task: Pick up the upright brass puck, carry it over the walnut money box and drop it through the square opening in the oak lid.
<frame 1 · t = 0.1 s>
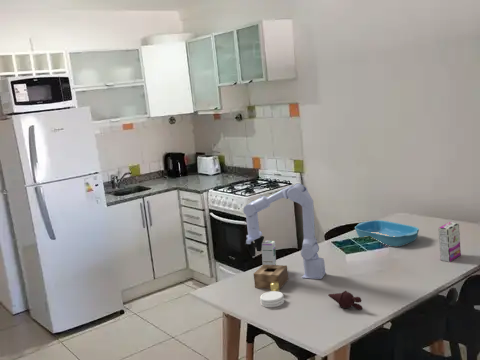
hand: (256, 253, 254), 10 cm above the table, fingers open, 7 cm apart
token: (275, 293, 228), on the table
syrup box: (269, 270, 257), on the table
candy bar box: (450, 258, 246), on the table
casserole dish: (386, 240, 285), on the table
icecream: (345, 307, 207), on the table
coaster: (272, 303, 219), on the table
money box: (271, 283, 241), on the table
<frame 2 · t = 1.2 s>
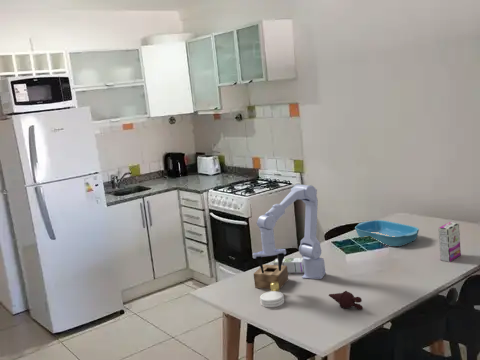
hand: (271, 271, 229), 10 cm above the table, fingers open, 7 cm apart
syrup box: (274, 265, 255), point 3 cm above the table
everything else where it was.
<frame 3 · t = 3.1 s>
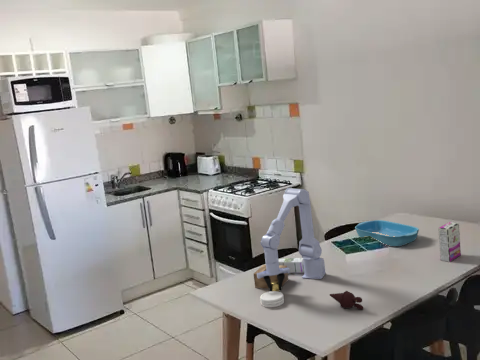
hand: (275, 290, 228), 1 cm above the table, fingers closed on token, 4 cm apart
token: (275, 293, 228), on the table, touching gripper
everything else where it was.
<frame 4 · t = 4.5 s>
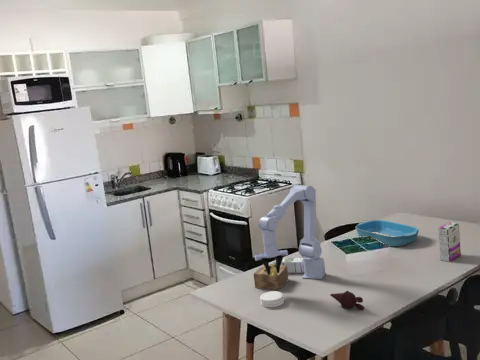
hand: (273, 273, 227), 9 cm above the table, fingers closed on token, 4 cm apart
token: (273, 276, 228), point 8 cm above the table, touching gripper
everything else where it was.
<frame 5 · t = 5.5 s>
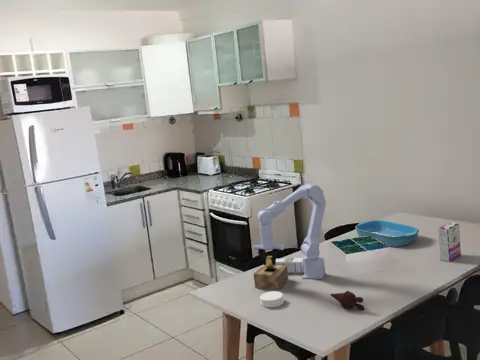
hand: (269, 264, 239), 9 cm above the table, fingers closed on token, 4 cm apart
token: (270, 267, 239), point 8 cm above the table, touching gripper
everything else where it was.
when the fingers open (9 cm above the table, at t = 6.1 s): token drops 7 cm, resting on money box.
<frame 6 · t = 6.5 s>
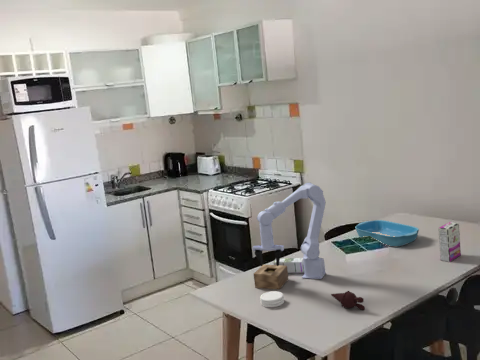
hand: (269, 265, 239), 9 cm above the table, fingers open, 7 cm apart
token: (271, 282, 240), point 1 cm above the table, touching money box
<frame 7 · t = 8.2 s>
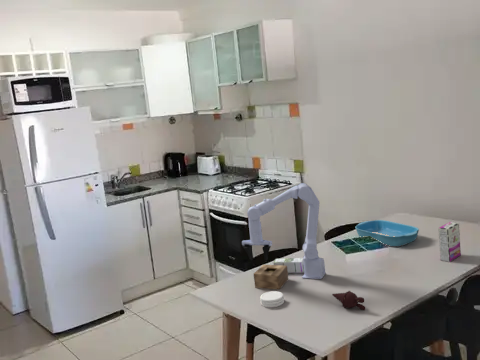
hand: (258, 259, 243), 11 cm above the table, fingers open, 7 cm apart
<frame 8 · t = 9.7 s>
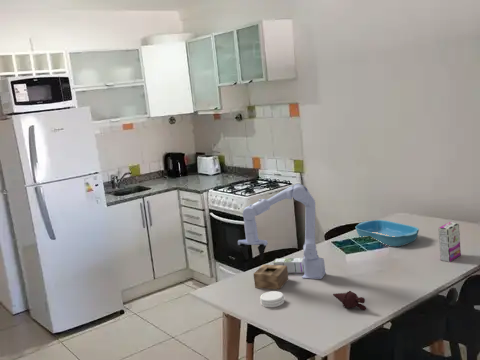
hand: (254, 259, 245), 10 cm above the table, fingers open, 7 cm apart
at the end: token inside the target area on the money box (0.1 cm from its centre), point 0.7 cm above the money box's base; the gripper is holding nothing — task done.
